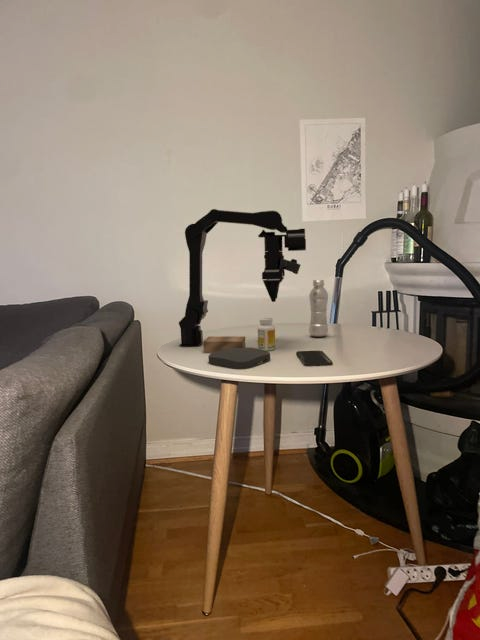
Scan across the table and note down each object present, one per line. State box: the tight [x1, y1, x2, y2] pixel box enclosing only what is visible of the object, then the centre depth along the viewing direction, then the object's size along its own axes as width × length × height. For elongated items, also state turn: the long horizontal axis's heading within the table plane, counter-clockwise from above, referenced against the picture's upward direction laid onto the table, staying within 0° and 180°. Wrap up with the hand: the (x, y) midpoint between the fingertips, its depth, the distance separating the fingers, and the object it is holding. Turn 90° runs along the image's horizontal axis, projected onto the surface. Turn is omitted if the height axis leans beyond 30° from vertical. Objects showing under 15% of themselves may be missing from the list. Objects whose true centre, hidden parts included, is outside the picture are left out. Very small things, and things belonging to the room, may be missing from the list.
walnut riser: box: [202, 335, 247, 354], centre depth 135 cm, size 12×8×4 cm, turn 82°
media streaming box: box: [208, 347, 271, 370], centre depth 121 cm, size 15×15×3 cm
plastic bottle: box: [308, 279, 329, 338], centre depth 151 cm, size 6×7×20 cm
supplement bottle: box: [257, 317, 276, 352], centre depth 134 cm, size 5×5×10 cm
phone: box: [295, 350, 334, 367], centre depth 120 cm, size 8×1×15 cm
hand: (274, 300), depth 139 cm, fingers open, 9 cm apart
